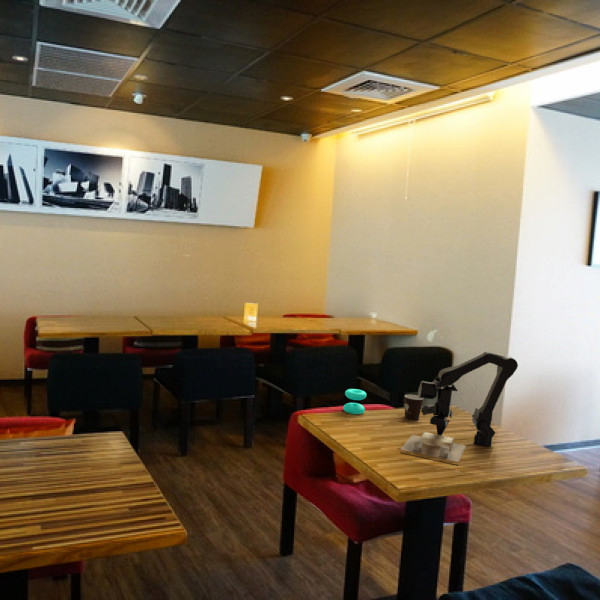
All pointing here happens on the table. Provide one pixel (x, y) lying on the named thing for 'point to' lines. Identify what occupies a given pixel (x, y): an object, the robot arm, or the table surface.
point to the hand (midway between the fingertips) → (439, 437)
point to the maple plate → (436, 440)
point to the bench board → (433, 450)
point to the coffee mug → (412, 406)
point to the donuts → (355, 407)
